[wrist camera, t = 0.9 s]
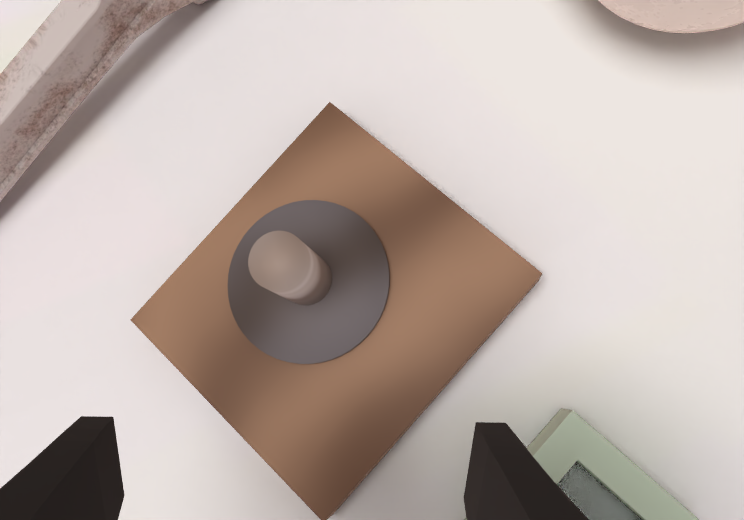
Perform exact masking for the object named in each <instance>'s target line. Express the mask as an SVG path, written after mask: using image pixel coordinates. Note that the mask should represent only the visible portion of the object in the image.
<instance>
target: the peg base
mask: <svg viewBox="0 0 744 520" xmlns="http://www.w3.org/2000/svg"><path fill="white" fill-rule="evenodd" d="M541 275H542V273H541V272H540V271H539V270H537V269H536V268H535V267H534V266H532V265H531V264H530V263H529V262H527V261H526V260H525V259H524V258H522V257H521V256H520V255H519V254H518V253H516V252H515V251H514V250H513V249H511V248H510V247H509V246H508V245H506V244H505V243H504V242H503V241H501V240H500V239H499V238H498V237H496V236H495V235H494V234H493V233H492V232H490V231H489V230H488V229H487V228H485V227H484V226H483V225H482V224H480V223H479V222H478V221H477V220H475V219H474V218H473V217H472V216H470V215H469V214H468V213H467V212H465V211H464V210H463V209H462V208H461V207H459V206H458V205H457V204H456V203H454V202H453V201H452V200H451V199H449V198H448V197H447V196H446V195H444V194H443V193H442V192H441V191H439V190H438V189H437V188H436V187H435V186H433V185H432V184H431V183H430V182H428V181H427V180H426V179H425V178H423V177H422V176H421V175H420V174H418V173H417V172H416V171H415V170H413V169H412V168H411V167H410V166H408V165H407V164H406V163H405V162H404V161H402V160H401V159H400V158H399V157H397V156H396V155H395V154H394V153H392V152H391V151H390V150H389V149H387V148H386V147H385V146H384V145H382V144H381V143H380V142H379V141H378V140H376V139H375V138H374V137H373V136H371V135H370V134H369V133H368V132H366V131H365V130H364V129H363V128H361V127H360V126H359V125H358V124H356V123H355V122H354V121H353V120H352V119H350V118H349V117H348V116H347V115H345V114H344V113H343V112H342V111H340V110H339V109H338V108H337V107H335V106H334V105H333V104H332V103H330V102H329V103H328V105H327V106H326V107H325V108H324V109H323V110H322V111H321V112H320V113H319V114H318V115H317V117H316V118H315V119H314V120H313V121H312V122H311V123H310V124H309V125H308V126H307V127H306V129H305V130H304V131H303V132H302V133H301V134H300V135H299V136H298V137H297V138H296V139H295V141H294V142H293V143H292V144H291V145H290V146H289V147H288V148H287V149H286V150H285V152H284V153H283V154H282V155H281V156H280V157H279V158H278V159H277V160H276V161H275V162H274V164H273V165H272V166H271V167H270V168H269V169H268V170H267V171H266V172H265V173H264V174H263V176H262V177H261V178H260V179H259V180H258V181H257V182H256V183H255V184H254V185H253V186H252V188H251V189H250V190H249V191H248V192H247V193H246V194H245V195H244V196H243V197H242V199H241V200H240V201H239V202H238V203H237V204H236V205H235V206H234V207H233V208H232V209H231V211H230V212H229V213H228V214H227V215H226V216H225V217H224V218H223V219H222V220H221V221H220V223H219V224H218V225H217V226H216V227H215V228H214V229H213V230H212V231H211V232H210V233H209V235H208V236H207V237H206V238H205V239H204V240H203V241H202V242H201V243H200V244H199V246H198V247H197V248H196V249H195V250H194V251H193V252H192V253H191V254H190V255H189V256H188V258H187V259H186V260H185V261H184V262H183V263H182V264H181V265H180V266H179V267H178V268H177V270H176V271H175V272H174V273H173V274H172V275H171V276H170V277H169V278H168V279H167V280H166V282H165V283H164V284H163V285H162V286H161V287H160V288H159V289H158V290H157V291H156V293H155V294H154V295H153V296H152V297H151V298H150V299H149V300H148V301H147V302H146V303H145V305H144V306H143V307H142V308H141V309H140V310H139V311H138V312H137V313H136V314H135V315H134V317H133V318H132V319H131V321H132V322H133V323H134V324H135V325H136V326H137V327H138V328H139V329H140V330H141V331H142V333H143V334H144V335H145V336H146V337H147V338H148V339H149V340H150V341H151V342H152V343H153V344H154V345H155V346H156V347H157V348H158V349H159V350H160V351H161V352H162V353H163V355H164V356H165V357H166V358H167V359H168V360H169V361H170V362H171V363H172V364H173V365H174V366H175V367H176V368H177V369H178V370H179V371H180V372H181V373H182V374H183V376H184V377H185V378H186V379H187V380H188V381H189V382H190V383H191V384H192V385H193V386H194V387H195V388H196V389H197V390H198V391H199V392H200V393H201V394H202V395H203V397H204V398H205V399H206V400H207V401H208V402H209V403H210V404H211V405H212V406H213V407H214V408H215V409H216V410H217V411H218V412H219V413H220V414H221V415H222V416H223V417H224V419H225V420H226V421H227V422H228V423H229V424H230V425H231V426H232V427H233V428H234V429H235V430H236V431H237V432H238V433H239V434H240V435H241V436H242V437H243V438H244V440H245V441H246V442H247V443H248V444H249V445H250V446H251V447H252V448H253V449H254V450H255V451H256V452H257V453H258V454H259V455H260V456H261V457H262V458H263V459H264V461H265V462H266V463H267V464H268V465H269V466H270V467H271V468H272V469H273V470H274V471H275V472H276V473H277V474H278V475H279V476H280V477H281V478H282V479H283V480H284V481H285V483H286V484H287V485H288V486H289V487H290V488H291V489H292V490H293V491H294V492H295V493H296V494H297V495H298V496H299V497H300V498H301V499H302V500H303V501H304V502H305V504H306V505H307V506H308V507H309V508H310V509H311V510H312V511H313V512H314V513H315V514H316V515H317V516H318V517H319V518H320V519H321V520H327V519H328V518H329V517H330V516H332V515H333V514H334V513H335V511H336V510H337V509H338V508H339V507H340V506H341V505H342V504H343V502H344V501H345V500H346V499H347V498H348V497H349V496H350V494H351V493H352V492H353V491H354V490H355V489H356V488H357V486H358V485H359V484H360V483H361V482H362V481H363V480H364V479H365V477H366V476H367V475H368V474H369V473H370V472H371V471H372V469H373V468H374V467H375V466H376V465H377V464H378V463H379V461H380V460H381V459H382V458H383V457H384V456H385V455H386V454H387V452H388V451H389V450H390V449H391V448H392V447H393V446H394V444H395V443H396V442H397V441H398V440H399V439H400V438H401V436H402V435H403V434H404V433H405V432H406V431H407V430H408V429H409V427H410V426H411V425H412V424H413V423H414V422H415V421H416V419H417V418H418V417H419V416H420V415H421V414H422V413H423V411H424V410H425V409H426V408H427V407H428V406H429V405H430V403H431V402H432V401H433V400H434V399H435V398H436V397H437V396H438V394H439V393H440V392H441V391H442V390H443V389H444V388H445V386H446V385H447V384H448V383H449V382H450V381H451V380H452V378H453V377H454V376H455V375H456V374H457V373H458V372H459V371H460V369H461V368H462V367H463V366H464V365H465V364H466V363H467V361H468V360H469V359H470V358H471V357H472V356H473V355H474V353H475V352H476V351H477V350H478V349H479V348H480V347H481V346H482V344H483V343H484V342H485V341H486V340H487V339H488V338H489V336H490V335H491V334H492V333H493V332H494V331H495V330H496V328H497V327H498V326H499V325H500V324H501V323H502V322H503V321H504V319H505V318H506V317H507V316H508V315H509V314H510V313H511V311H512V310H513V309H514V308H515V307H516V306H517V305H518V303H519V302H520V301H521V300H522V299H523V298H524V297H525V295H526V294H527V293H528V292H529V291H530V290H531V289H532V288H533V286H534V285H535V284H536V283H537V282H538V281H539V279H540V277H541Z"/></svg>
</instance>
